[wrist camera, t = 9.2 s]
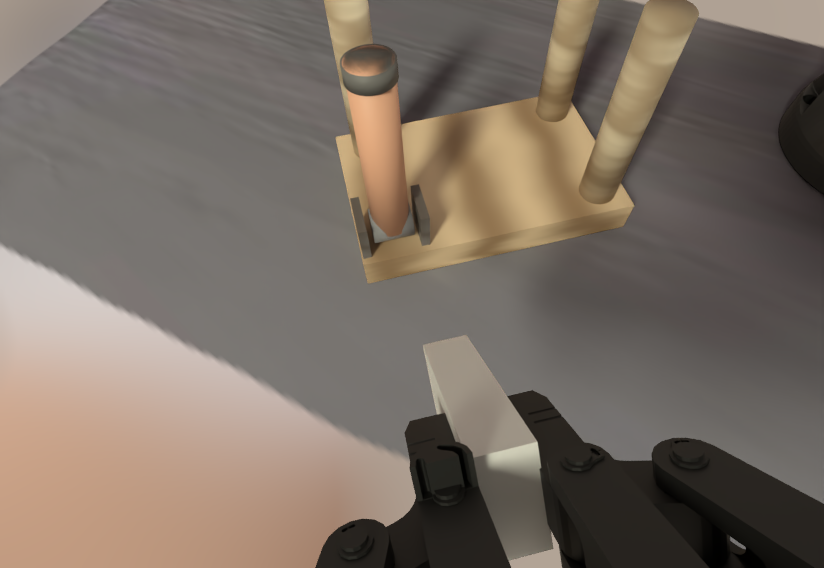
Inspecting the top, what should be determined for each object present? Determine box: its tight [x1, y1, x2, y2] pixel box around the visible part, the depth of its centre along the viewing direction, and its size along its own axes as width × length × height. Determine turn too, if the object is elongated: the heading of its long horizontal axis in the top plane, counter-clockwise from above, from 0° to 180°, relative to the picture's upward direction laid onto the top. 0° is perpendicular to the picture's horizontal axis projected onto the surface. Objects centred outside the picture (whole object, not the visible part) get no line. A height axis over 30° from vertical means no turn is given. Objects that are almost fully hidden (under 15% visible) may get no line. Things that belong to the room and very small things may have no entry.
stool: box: [324, 0, 699, 283], centre depth 33 cm, size 20×13×16 cm, turn 103°
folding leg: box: [340, 44, 415, 243], centre depth 29 cm, size 3×3×13 cm
